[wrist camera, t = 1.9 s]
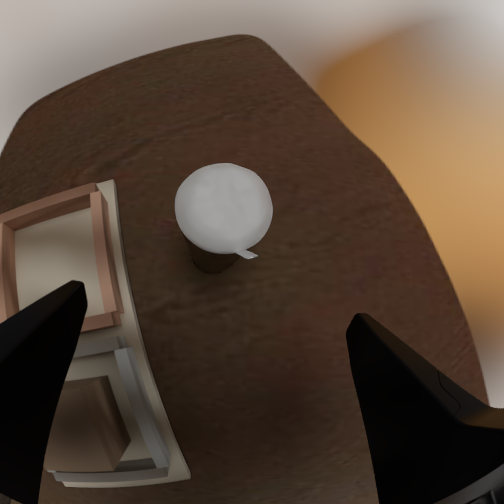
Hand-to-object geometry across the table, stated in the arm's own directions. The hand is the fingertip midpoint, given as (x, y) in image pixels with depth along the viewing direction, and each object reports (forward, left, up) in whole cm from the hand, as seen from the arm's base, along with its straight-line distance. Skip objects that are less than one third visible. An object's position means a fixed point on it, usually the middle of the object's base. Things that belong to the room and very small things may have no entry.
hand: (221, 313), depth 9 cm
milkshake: (+5, +1, -11) cm, 12 cm away
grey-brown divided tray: (-5, +9, -11) cm, 15 cm away
